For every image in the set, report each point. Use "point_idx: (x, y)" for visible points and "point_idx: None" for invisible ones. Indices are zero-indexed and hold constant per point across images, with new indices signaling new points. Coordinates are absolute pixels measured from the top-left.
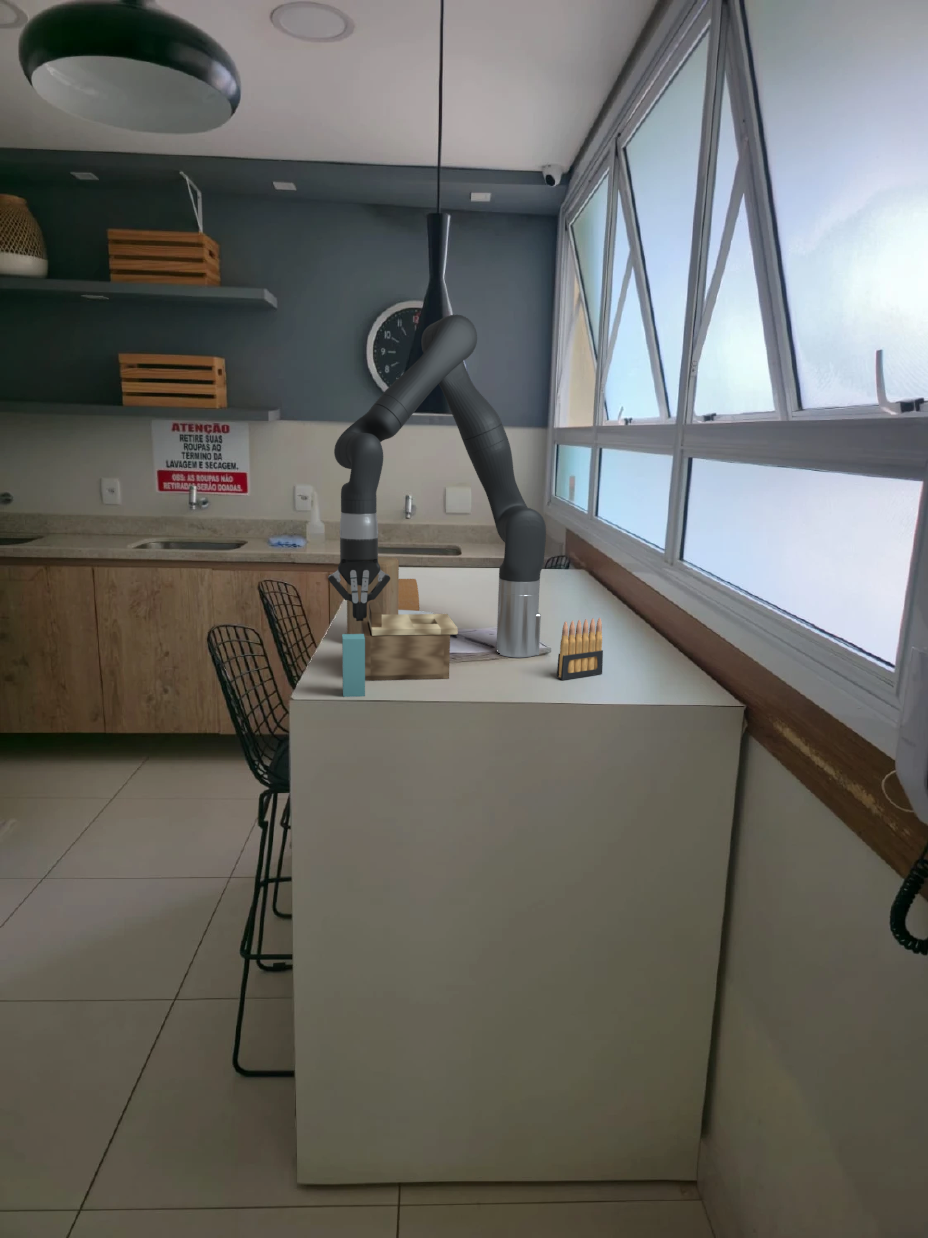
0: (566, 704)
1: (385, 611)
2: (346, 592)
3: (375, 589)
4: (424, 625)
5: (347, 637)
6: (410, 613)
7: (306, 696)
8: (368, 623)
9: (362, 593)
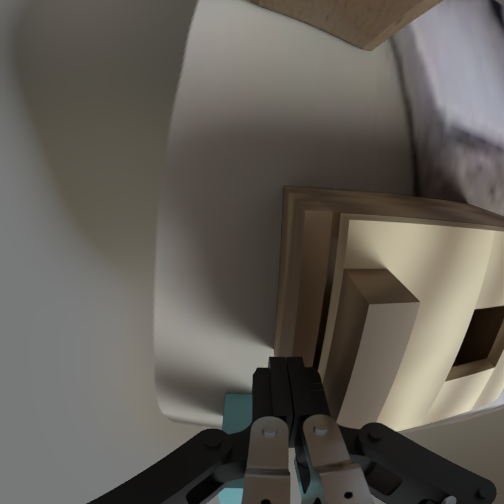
0: (481, 412)
1: (420, 11)
2: (215, 494)
3: (378, 496)
4: (461, 390)
5: (229, 499)
6: None
7: (165, 406)
8: (334, 238)
9: (306, 490)
